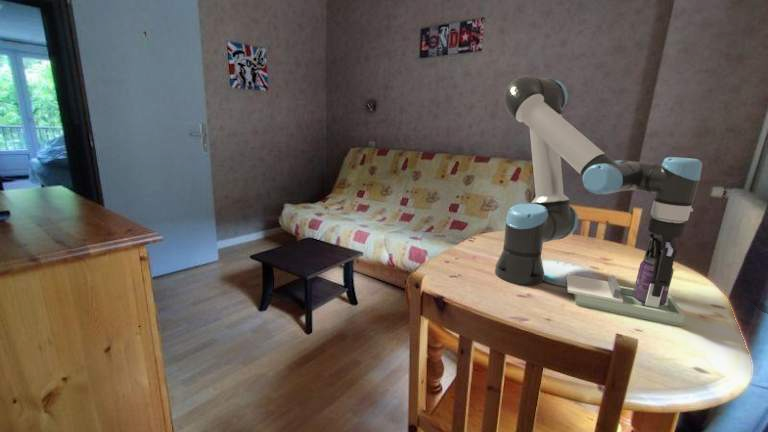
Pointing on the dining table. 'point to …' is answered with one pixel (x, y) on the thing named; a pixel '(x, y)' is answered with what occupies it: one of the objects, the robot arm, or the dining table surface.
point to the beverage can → (643, 281)
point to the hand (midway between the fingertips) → (647, 299)
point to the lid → (595, 287)
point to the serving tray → (636, 307)
